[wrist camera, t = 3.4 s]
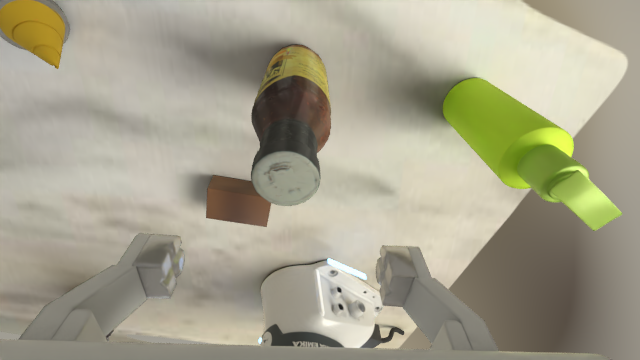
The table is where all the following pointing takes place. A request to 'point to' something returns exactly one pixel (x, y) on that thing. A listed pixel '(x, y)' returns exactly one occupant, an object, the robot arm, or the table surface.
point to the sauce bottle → (291, 126)
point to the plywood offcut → (236, 202)
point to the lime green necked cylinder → (525, 149)
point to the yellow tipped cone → (35, 27)
